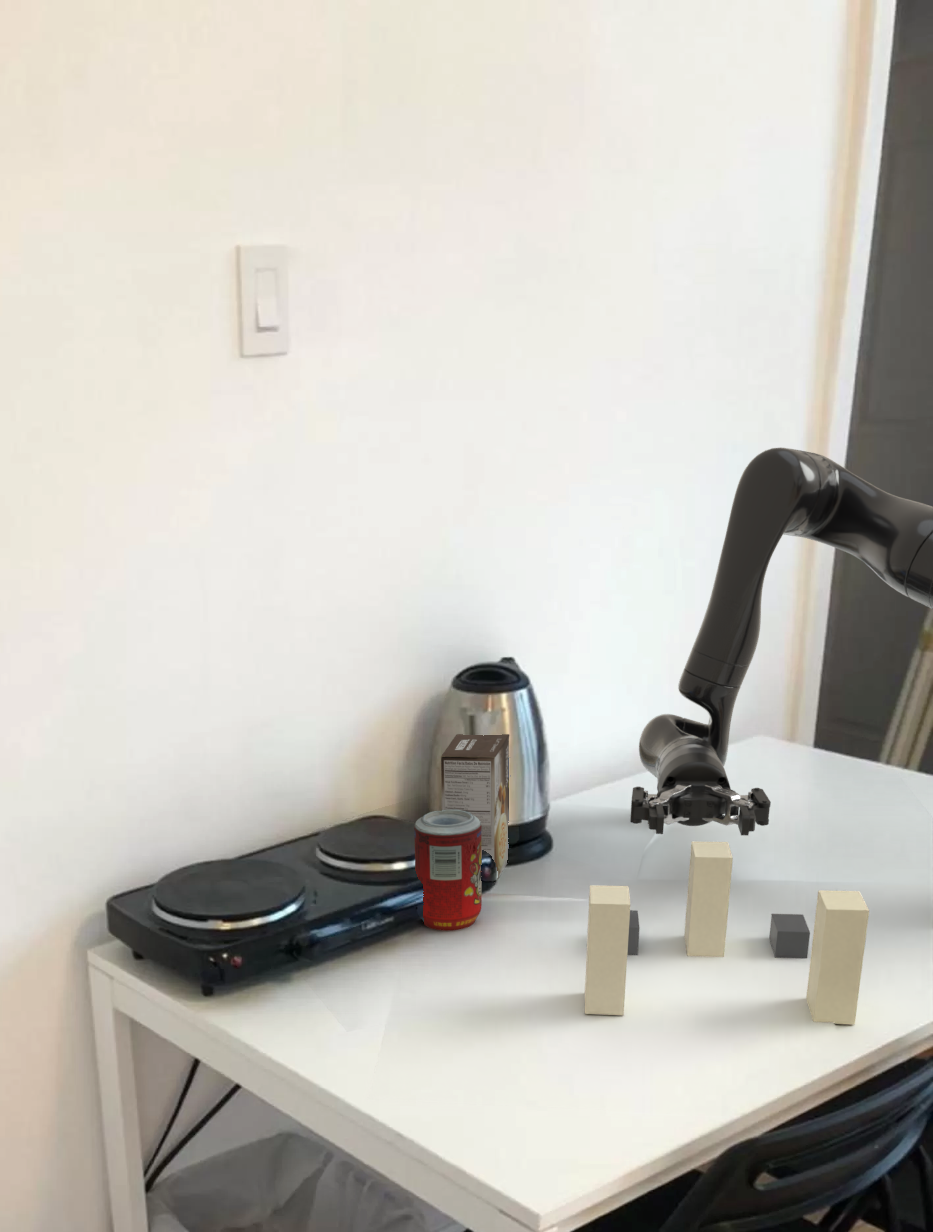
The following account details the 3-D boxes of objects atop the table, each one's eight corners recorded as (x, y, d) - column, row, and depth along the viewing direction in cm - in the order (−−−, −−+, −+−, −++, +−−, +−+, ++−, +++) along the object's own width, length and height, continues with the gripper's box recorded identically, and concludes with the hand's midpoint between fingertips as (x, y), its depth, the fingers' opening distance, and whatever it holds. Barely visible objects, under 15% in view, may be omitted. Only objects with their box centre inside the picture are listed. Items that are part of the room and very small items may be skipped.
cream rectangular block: (622, 994, 143) (628, 885, 138) (623, 1015, 138) (630, 904, 134) (584, 992, 144) (589, 885, 139) (584, 1014, 139) (590, 903, 135)
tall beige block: (719, 944, 153) (728, 841, 149) (723, 962, 148) (732, 857, 144) (683, 943, 154) (691, 841, 149) (686, 961, 149) (695, 856, 145)
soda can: (487, 933, 159) (486, 824, 154) (420, 938, 159) (417, 830, 154) (476, 909, 165) (475, 803, 160) (412, 913, 166) (409, 808, 161)
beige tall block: (845, 1002, 138) (859, 890, 134) (854, 1025, 134) (869, 910, 129) (805, 1001, 139) (818, 890, 135) (813, 1023, 134) (826, 909, 130)
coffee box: (456, 860, 181) (455, 732, 174) (509, 863, 179) (510, 733, 172) (441, 888, 173) (439, 754, 167) (496, 891, 171) (497, 756, 164)
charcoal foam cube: (799, 946, 151) (803, 914, 150) (806, 965, 147) (810, 932, 145) (768, 945, 152) (771, 913, 150) (774, 964, 147) (777, 931, 146)
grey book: (635, 941, 155) (637, 910, 153) (637, 959, 150) (639, 927, 149) (605, 940, 155) (607, 909, 154) (606, 958, 151) (608, 926, 150)
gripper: (629, 751, 171) (634, 790, 156) (761, 752, 167) (778, 792, 153) (625, 814, 173) (630, 858, 159) (755, 816, 170) (771, 861, 156)
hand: (703, 825), depth 156 cm, fingers open, 8 cm apart
